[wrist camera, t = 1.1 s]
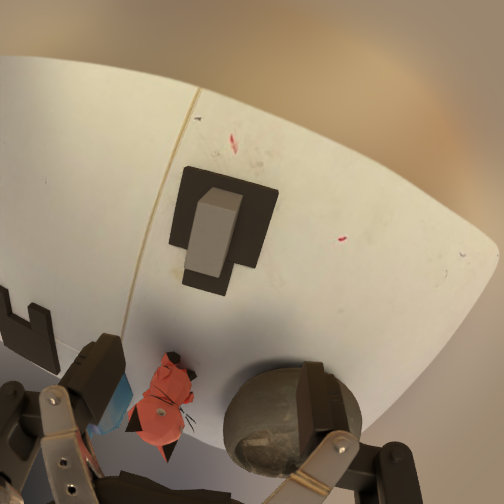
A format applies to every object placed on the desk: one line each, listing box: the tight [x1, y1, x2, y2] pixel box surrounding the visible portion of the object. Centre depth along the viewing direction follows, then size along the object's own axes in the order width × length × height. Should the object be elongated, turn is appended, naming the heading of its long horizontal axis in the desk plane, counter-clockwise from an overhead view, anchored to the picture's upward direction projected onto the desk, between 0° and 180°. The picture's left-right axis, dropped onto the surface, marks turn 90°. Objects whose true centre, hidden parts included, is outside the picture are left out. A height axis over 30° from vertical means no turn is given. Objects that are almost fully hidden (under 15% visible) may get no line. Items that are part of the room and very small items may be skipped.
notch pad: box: [0, 286, 60, 375], centre depth 33 cm, size 12×12×1 cm
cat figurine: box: [125, 352, 197, 463], centre depth 28 cm, size 7×7×12 cm
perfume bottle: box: [86, 372, 133, 440], centre depth 30 cm, size 6×6×12 cm
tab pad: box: [169, 166, 279, 296], centre depth 24 cm, size 8×11×6 cm
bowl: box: [223, 368, 362, 478], centre depth 29 cm, size 15×15×10 cm
